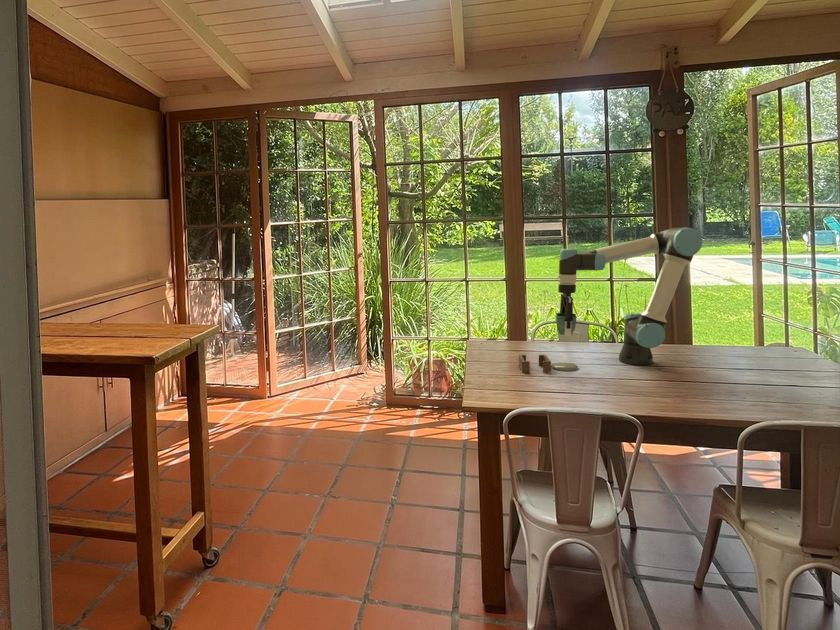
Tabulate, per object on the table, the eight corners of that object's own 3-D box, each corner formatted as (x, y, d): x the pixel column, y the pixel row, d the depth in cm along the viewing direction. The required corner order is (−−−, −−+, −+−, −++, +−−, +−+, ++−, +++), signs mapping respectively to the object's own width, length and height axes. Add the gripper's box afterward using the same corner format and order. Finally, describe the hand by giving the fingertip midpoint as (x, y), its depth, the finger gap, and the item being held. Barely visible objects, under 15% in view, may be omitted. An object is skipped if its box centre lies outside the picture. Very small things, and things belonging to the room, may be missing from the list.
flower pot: (576, 336, 236) (577, 316, 234) (555, 335, 238) (556, 316, 236) (574, 332, 244) (575, 313, 243) (554, 332, 246) (555, 312, 245)
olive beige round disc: (574, 364, 249) (574, 362, 249) (580, 371, 237) (580, 369, 237) (548, 364, 250) (548, 362, 250) (553, 371, 238) (553, 369, 238)
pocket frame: (545, 365, 248) (545, 354, 247) (550, 372, 236) (550, 361, 235) (518, 365, 249) (518, 354, 248) (521, 372, 237) (522, 361, 236)
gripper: (554, 281, 248) (552, 328, 252) (563, 286, 227) (561, 338, 230) (570, 281, 247) (568, 328, 251) (581, 286, 226) (579, 338, 230)
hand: (565, 333), depth 241 cm, fingers closed on flower pot, 9 cm apart
